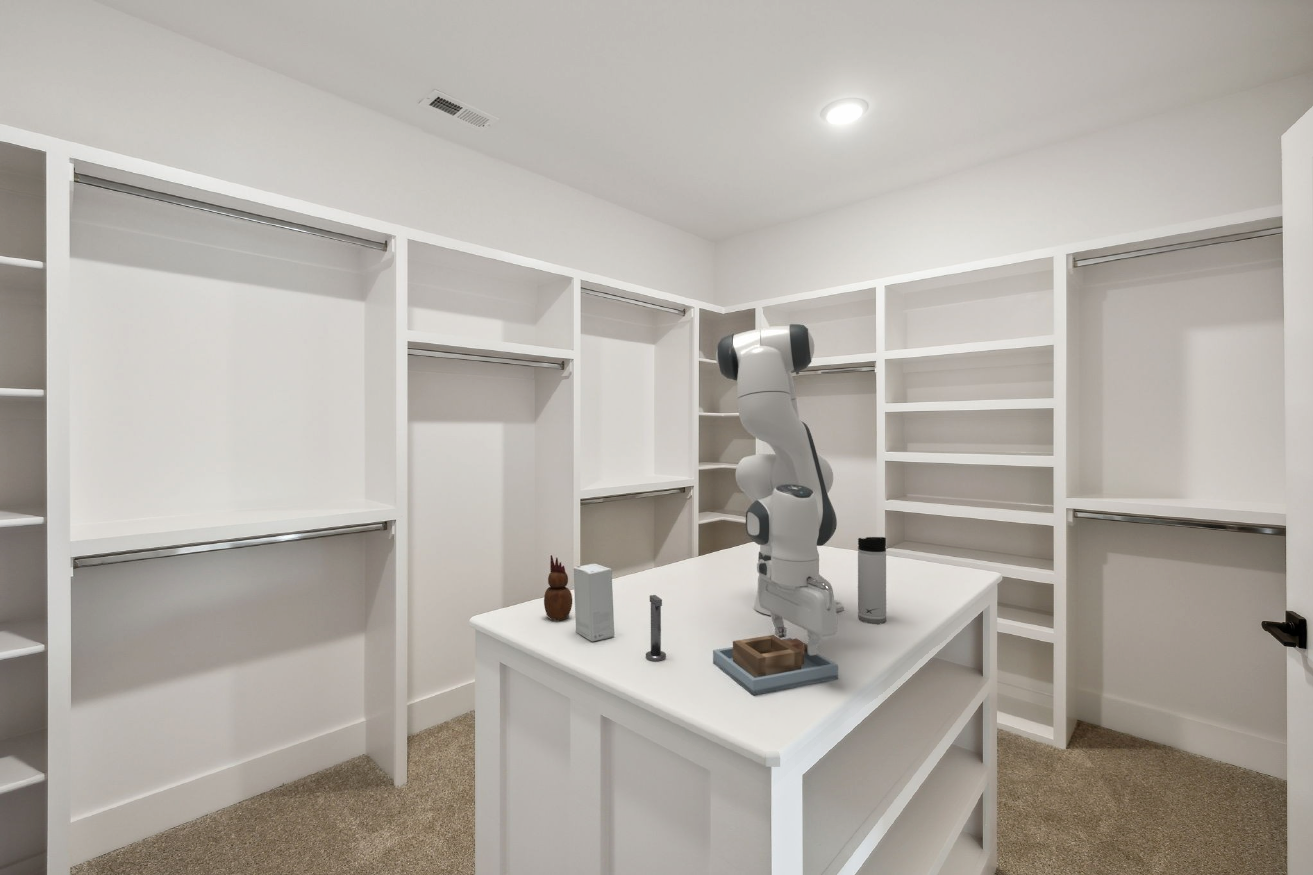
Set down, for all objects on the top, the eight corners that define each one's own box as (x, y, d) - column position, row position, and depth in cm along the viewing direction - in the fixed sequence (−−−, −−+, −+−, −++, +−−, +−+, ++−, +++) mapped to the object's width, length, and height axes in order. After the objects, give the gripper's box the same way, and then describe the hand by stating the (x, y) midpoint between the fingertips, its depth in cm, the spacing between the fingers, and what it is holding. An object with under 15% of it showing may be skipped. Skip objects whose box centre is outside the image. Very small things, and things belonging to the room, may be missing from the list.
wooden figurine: (539, 618, 135) (539, 555, 135) (559, 612, 140) (558, 552, 140) (557, 624, 131) (556, 559, 131) (576, 618, 135) (576, 555, 135)
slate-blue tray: (790, 650, 115) (790, 637, 115) (838, 678, 101) (838, 664, 101) (713, 663, 108) (713, 650, 108) (753, 695, 95) (753, 680, 95)
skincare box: (614, 637, 122) (614, 569, 122) (589, 643, 119) (589, 572, 119) (597, 626, 129) (596, 561, 129) (572, 631, 126) (572, 565, 126)
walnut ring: (786, 653, 111) (786, 632, 111) (815, 670, 103) (815, 648, 103) (732, 662, 107) (732, 641, 107) (758, 681, 98) (758, 658, 98)
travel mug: (872, 626, 129) (872, 538, 129) (852, 617, 135) (852, 534, 135) (893, 622, 132) (893, 536, 132) (872, 614, 138) (872, 532, 138)
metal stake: (661, 652, 114) (661, 593, 114) (669, 659, 110) (668, 599, 110) (642, 655, 112) (642, 595, 112) (649, 662, 108) (649, 601, 108)
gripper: (846, 583, 98) (846, 662, 98) (778, 559, 117) (778, 625, 117) (816, 587, 95) (816, 668, 96) (752, 562, 114) (752, 629, 115)
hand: (795, 644), depth 106 cm, fingers open, 8 cm apart
